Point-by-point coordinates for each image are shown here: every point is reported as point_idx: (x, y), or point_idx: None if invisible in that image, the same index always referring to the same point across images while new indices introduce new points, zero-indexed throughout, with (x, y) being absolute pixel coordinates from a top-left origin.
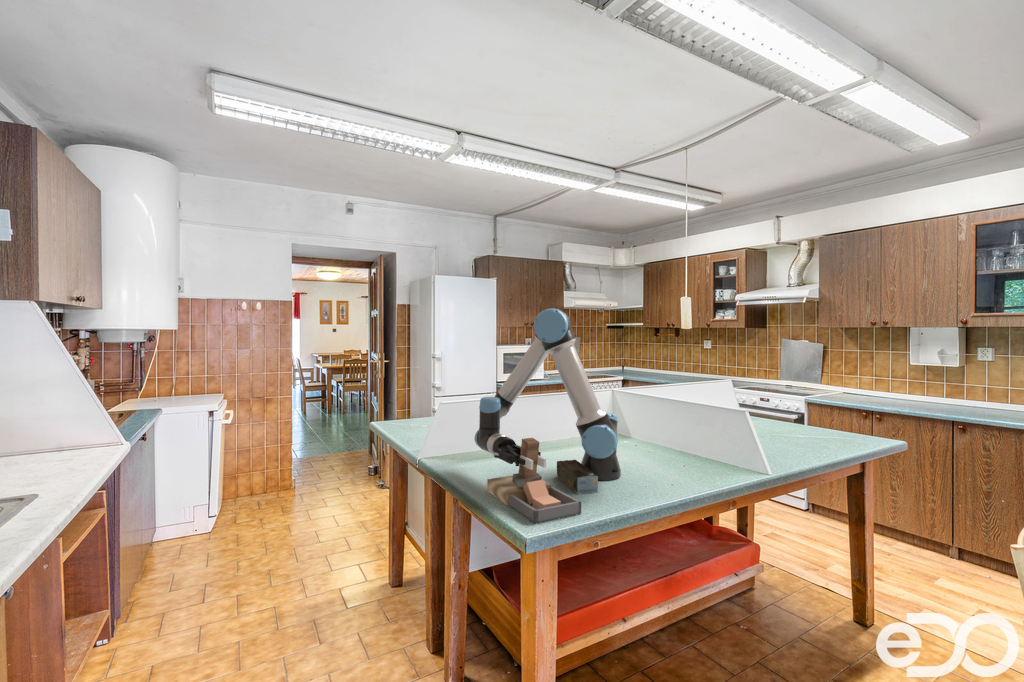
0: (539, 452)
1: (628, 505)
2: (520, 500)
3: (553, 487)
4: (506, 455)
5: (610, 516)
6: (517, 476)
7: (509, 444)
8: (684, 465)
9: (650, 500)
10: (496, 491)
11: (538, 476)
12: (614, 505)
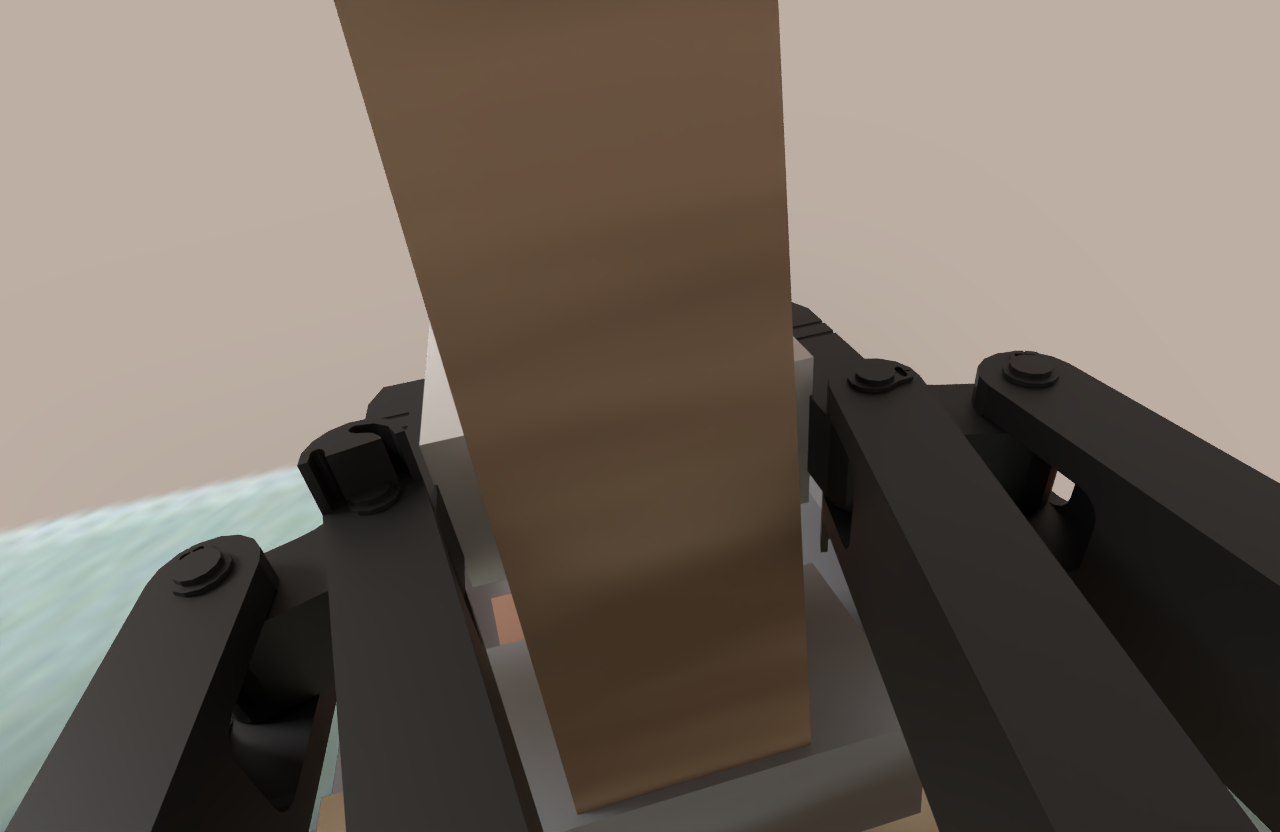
0: (209, 545)
1: (6, 585)
2: (820, 490)
3: (339, 763)
4: (1208, 472)
5: (286, 471)
6: (840, 643)
7: None
8: None
9: None
10: None
11: (507, 653)
12: (82, 596)
